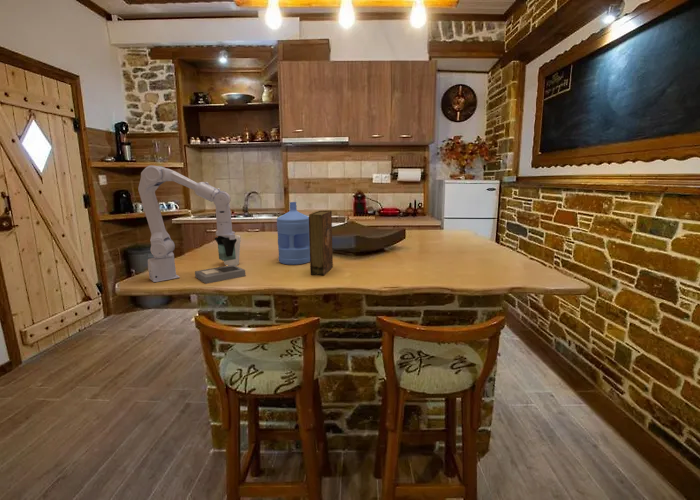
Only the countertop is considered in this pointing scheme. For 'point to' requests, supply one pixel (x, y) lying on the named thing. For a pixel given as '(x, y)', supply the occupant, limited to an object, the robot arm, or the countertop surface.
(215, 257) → the countertop surface
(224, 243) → the robot arm
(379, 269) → the countertop surface
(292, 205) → the water jug
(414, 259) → the countertop surface
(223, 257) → the block
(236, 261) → the foam cup
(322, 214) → the book
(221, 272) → the frame
